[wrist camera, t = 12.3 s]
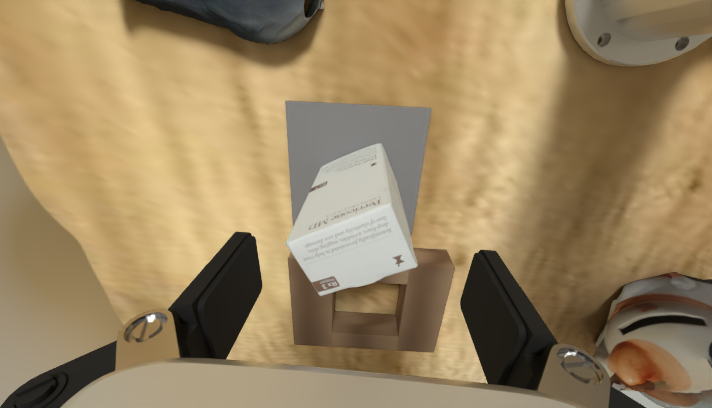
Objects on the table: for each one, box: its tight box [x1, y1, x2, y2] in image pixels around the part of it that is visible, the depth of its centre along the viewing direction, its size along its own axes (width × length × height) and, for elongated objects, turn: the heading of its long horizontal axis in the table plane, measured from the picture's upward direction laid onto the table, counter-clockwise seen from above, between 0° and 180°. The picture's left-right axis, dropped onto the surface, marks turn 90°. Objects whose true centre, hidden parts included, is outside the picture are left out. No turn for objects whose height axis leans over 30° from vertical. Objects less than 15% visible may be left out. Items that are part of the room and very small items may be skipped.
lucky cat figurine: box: [594, 272, 712, 408], centre depth 26 cm, size 15×12×14 cm
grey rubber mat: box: [285, 101, 431, 234], centre depth 25 cm, size 12×12×1 cm
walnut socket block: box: [288, 248, 455, 352], centre depth 30 cm, size 16×12×3 cm
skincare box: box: [286, 143, 418, 296], centre depth 19 cm, size 6×4×12 cm
